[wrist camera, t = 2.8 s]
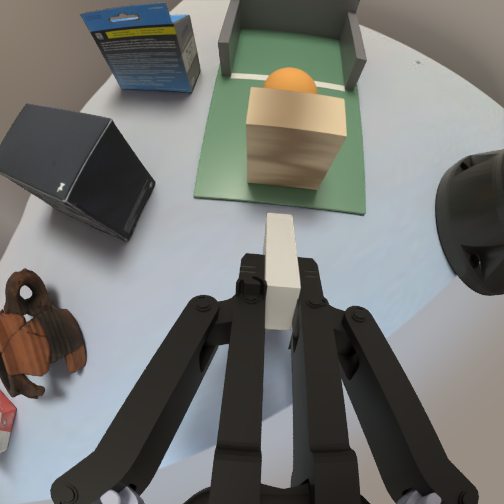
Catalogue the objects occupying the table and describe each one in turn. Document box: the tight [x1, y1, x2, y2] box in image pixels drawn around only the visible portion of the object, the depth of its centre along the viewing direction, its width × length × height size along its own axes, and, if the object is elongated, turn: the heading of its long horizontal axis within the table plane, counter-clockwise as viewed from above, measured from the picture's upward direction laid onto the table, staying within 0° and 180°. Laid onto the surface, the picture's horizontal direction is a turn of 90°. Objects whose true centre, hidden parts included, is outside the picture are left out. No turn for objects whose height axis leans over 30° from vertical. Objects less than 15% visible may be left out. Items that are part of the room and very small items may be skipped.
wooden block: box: [246, 87, 347, 190], centre depth 21 cm, size 6×3×9 cm, turn 84°
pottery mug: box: [0, 268, 86, 399], centre depth 21 cm, size 12×10×8 cm
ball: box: [263, 67, 318, 94], centre depth 25 cm, size 5×5×5 cm
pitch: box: [193, 0, 367, 215], centre depth 24 cm, size 15×24×8 cm, turn 175°
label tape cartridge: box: [80, 2, 200, 93], centre depth 22 cm, size 9×4×12 cm, turn 78°
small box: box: [0, 104, 155, 241], centre depth 21 cm, size 11×6×10 cm, turn 68°
